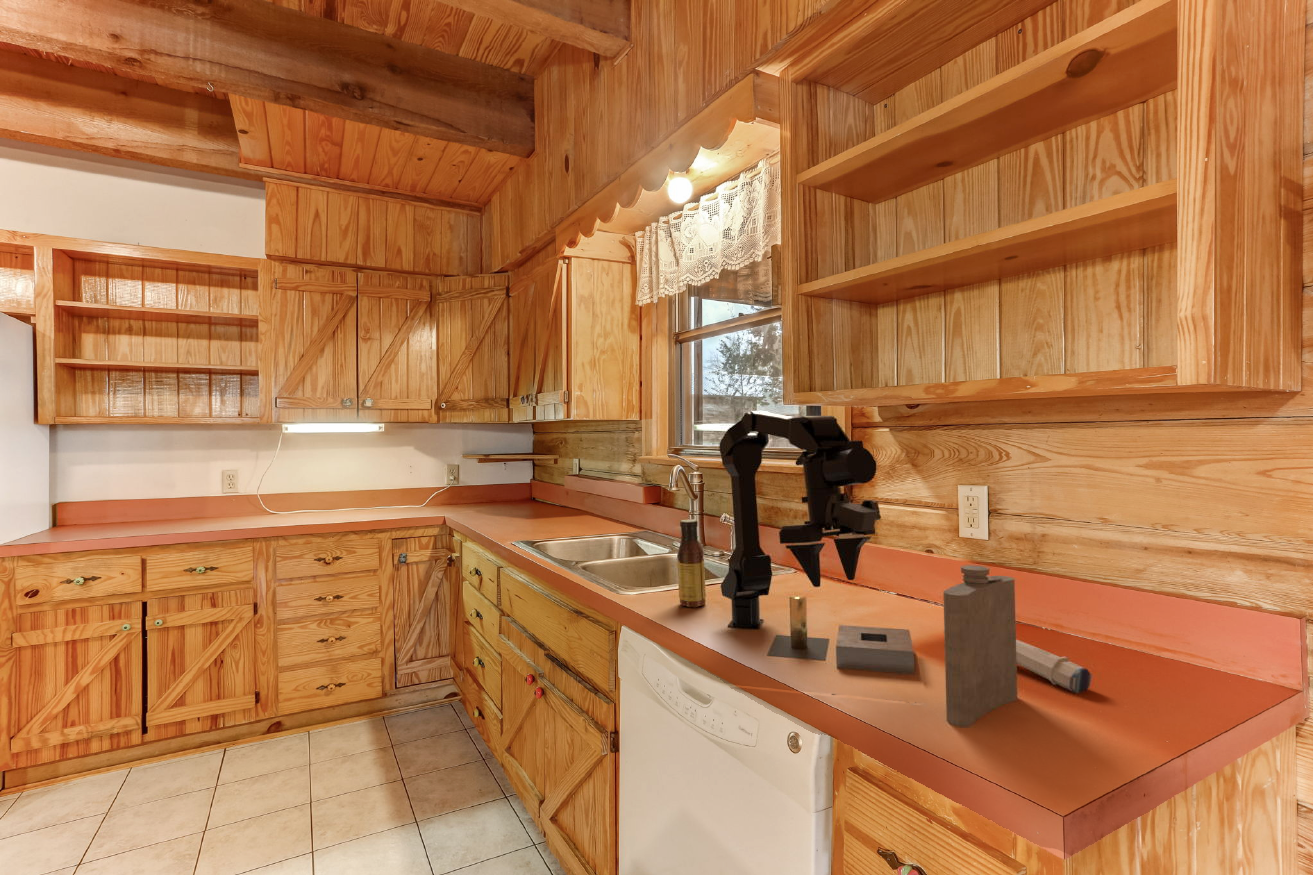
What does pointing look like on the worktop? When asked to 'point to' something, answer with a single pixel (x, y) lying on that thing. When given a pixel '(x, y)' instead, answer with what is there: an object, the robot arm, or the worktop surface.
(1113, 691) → the worktop surface
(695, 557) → the sauce bottle
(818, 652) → the mat
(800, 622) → the pin
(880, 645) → the block
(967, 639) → the hip flask
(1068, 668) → the flashlight
